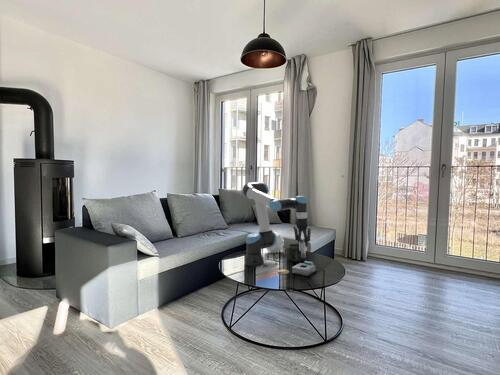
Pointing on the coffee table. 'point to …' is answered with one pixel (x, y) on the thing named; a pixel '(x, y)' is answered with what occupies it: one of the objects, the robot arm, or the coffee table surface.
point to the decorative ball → (277, 244)
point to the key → (302, 248)
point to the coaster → (283, 271)
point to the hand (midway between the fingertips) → (303, 250)
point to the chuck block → (304, 268)
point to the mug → (294, 252)
